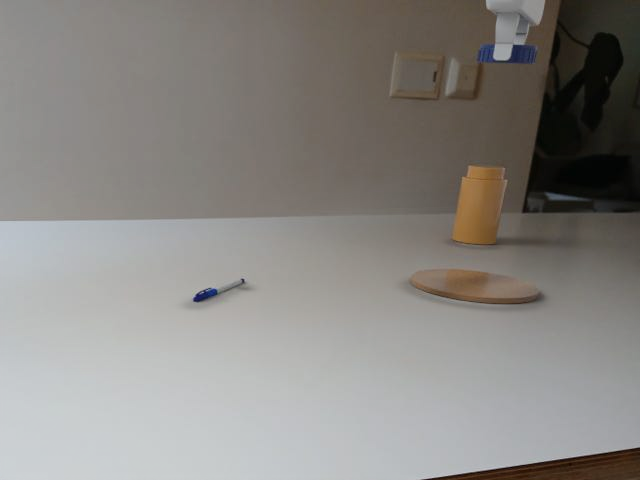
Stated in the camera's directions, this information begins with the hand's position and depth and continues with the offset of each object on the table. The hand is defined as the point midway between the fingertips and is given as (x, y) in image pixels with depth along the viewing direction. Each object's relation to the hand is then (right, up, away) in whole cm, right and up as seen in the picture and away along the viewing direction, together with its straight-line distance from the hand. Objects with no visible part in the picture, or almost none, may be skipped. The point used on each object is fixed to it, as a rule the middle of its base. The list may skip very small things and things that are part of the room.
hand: (506, 62), depth 86 cm
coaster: (-6, -27, -5) cm, 28 cm away
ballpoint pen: (-34, -28, -10) cm, 45 cm away
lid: (0, +1, 0) cm, 1 cm away
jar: (+6, -17, +23) cm, 29 cm away
